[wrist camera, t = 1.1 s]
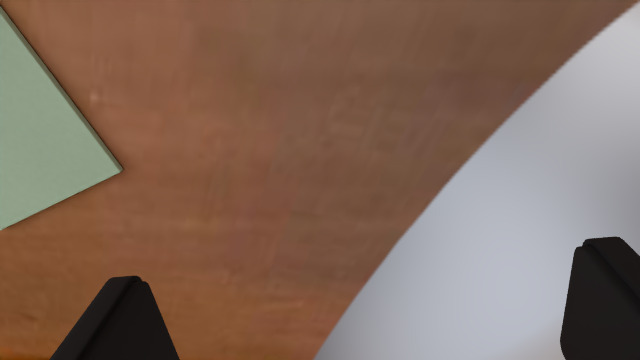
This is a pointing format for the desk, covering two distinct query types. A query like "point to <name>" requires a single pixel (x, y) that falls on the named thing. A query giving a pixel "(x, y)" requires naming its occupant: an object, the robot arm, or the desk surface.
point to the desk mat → (41, 135)
